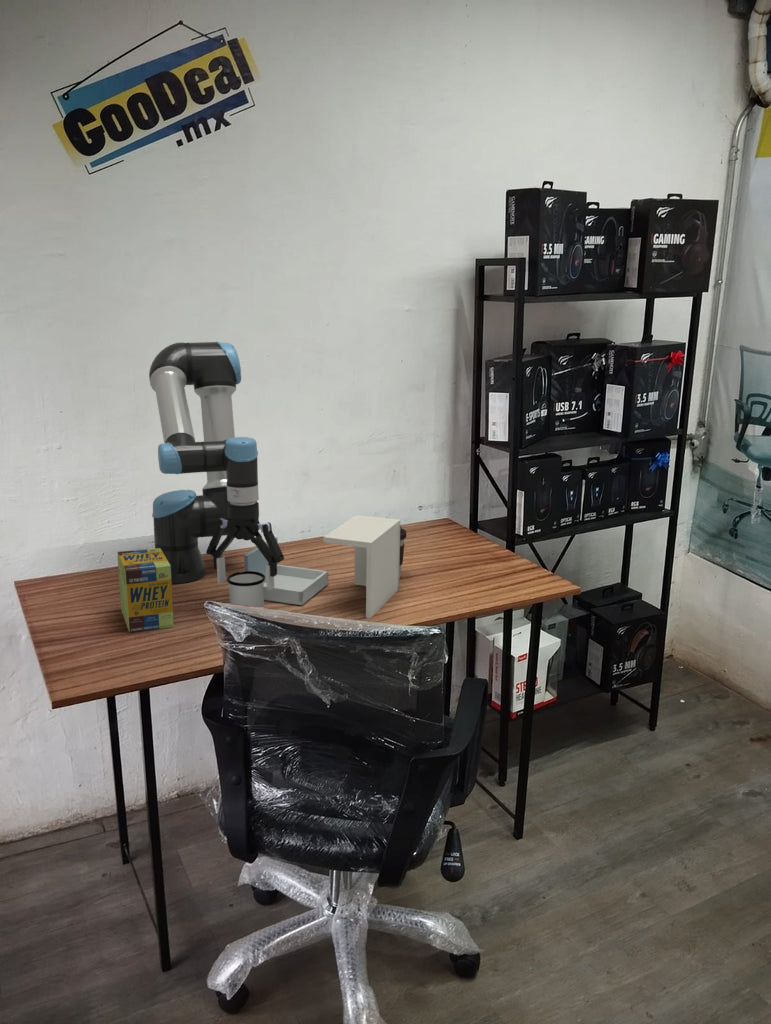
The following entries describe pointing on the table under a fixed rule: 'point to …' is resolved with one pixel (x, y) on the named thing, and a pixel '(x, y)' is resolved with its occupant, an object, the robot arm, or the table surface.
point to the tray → (287, 580)
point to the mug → (246, 588)
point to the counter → (372, 556)
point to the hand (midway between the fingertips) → (245, 585)
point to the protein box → (145, 589)
